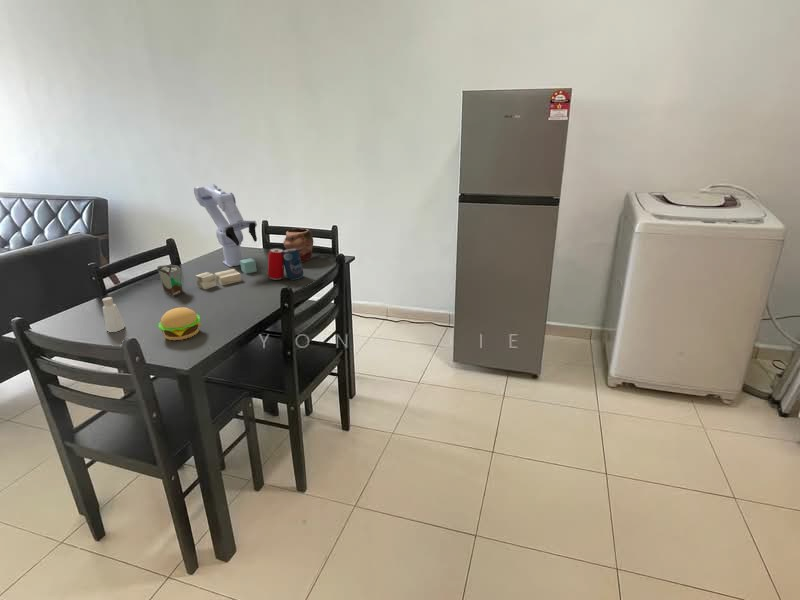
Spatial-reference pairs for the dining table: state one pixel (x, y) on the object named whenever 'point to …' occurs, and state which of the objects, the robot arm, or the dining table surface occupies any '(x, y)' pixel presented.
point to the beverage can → (276, 264)
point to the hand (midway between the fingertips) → (247, 242)
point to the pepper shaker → (112, 316)
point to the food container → (171, 279)
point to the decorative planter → (300, 242)
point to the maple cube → (205, 280)
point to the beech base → (228, 277)
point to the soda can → (292, 263)
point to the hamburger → (179, 323)
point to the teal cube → (248, 265)
